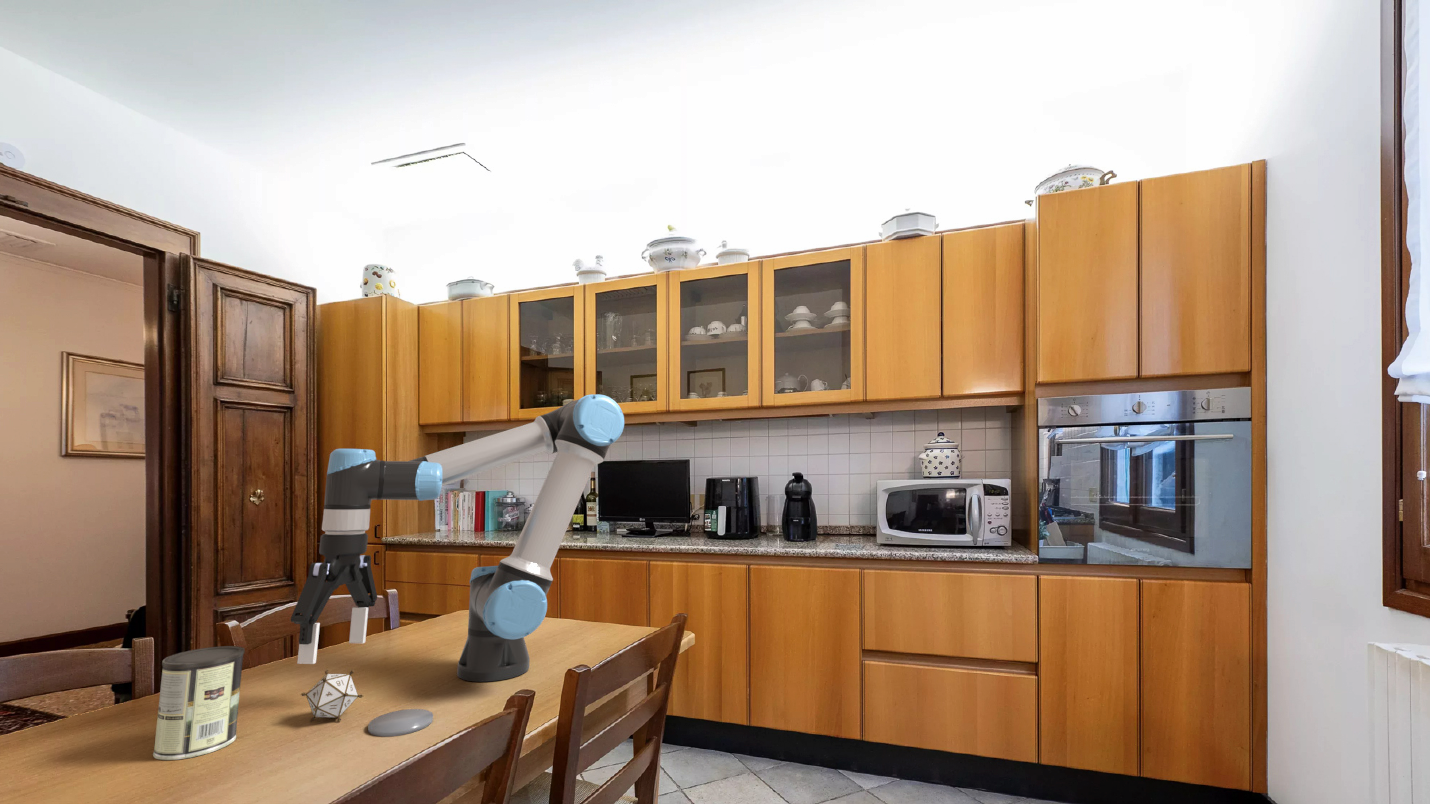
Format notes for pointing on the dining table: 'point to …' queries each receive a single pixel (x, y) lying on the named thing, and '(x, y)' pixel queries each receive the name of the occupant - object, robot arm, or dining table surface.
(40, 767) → the dining table surface
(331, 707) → the game die
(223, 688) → the coffee can
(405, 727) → the slate coaster
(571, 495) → the robot arm
